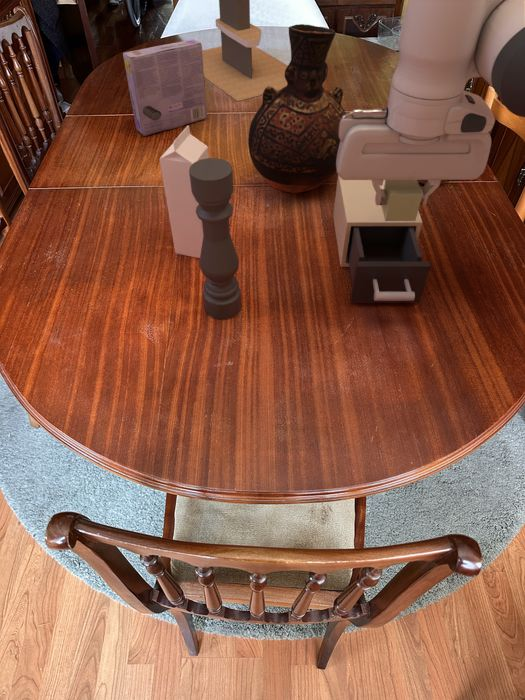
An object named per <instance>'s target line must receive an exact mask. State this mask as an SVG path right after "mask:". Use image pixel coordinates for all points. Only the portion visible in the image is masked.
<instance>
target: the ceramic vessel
mask: <svg viewBox="0 0 525 700" xmlns="http://www.w3.org/2000/svg"><path fill="white" fill-rule="evenodd" d="M335 36H336V31H335V30H334V29H333V28H327V27H324V26H316V25H311V24H304V23H303V24H302V23H300V24H294V25H290V26H289V27H288V38H289V44H290V61H289V63H288V64H287V65H288V66H287V68H286V70H285V79H286V81H287V86H286V87H284V88H282V89H281V90H278V91H277V90H275V89H274V88H273V87H271V86H267V87H266V88H265V89H264V92H263V95H262V101H261V102H262V103H261V106H260V107H259V108H258V109H257V111H256V112H255V114H254V116H253V118H252V119H251V121H250V125H249V130H248V138H247V139H248V141H247V142H248V152H249V156H250V159H251V161H252V164H253V166H254V168H255V170H256V171H257V172H258V174H259V175H260V176H261V177H262V179H263V180H265V182H266V183H268V184H269V185H271V186H272V187H274V188H275V189H278V190H280V191H283V192H286V193H293V194H297V193H305V192H309V191H312V190H315V189H316V188H318V187H319V186H321V185H322V184H325V182H327V181H328V180H329V179H331V178H332V177H333V176H334V175H335V174H336V173H337V169H336V158H337V153H338V148H339V144H340V139H339V137H338V129H339V122H340V120H341V118H342V117H343V116H344V115H345V114H347V113H346V111H345V109H344V108H343V106H342V101H343V96H344V89H343V88H342V87H339V86H335V87H333V88H330V89H326V88H324V87H323V84H324V83H325V81H326V79H327V77H328V72H329V71H328V70H329V66H328V63H327V62H326V60H327V58H328V54H329V50H330V48H331V46H332V43H333V41H334V39H335Z"/></svg>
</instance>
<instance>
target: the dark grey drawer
mask: <svg viewBox="0 0 525 700" xmlns="http://www.w3.org/2000/svg"><path fill="white" fill-rule="evenodd" d="M347 255H348V261H349V267H348V268H349V273H350V279H351V290H350V295H349V299H350V303H355V304H356V303H359V304H361V303H363V304H364V303H367V304H368V303H371V304H372V303H373V304H374V303H379V304H380V303H381V304H382V303H385V304H387V303H388V304H389V303H392V304H393V303H395V304H396V303H399V304H401V303H402V304H403V303H404V304H405V303H406V304H408V303H409V304H410V303H411V304H412V303H420V302H421V298H422V296H423V295H422V294H423V291H424V289H425V286H426V282H427V279H428V276H429V273H430V270H431V264H430V263H431V262H430V261H428V260H427V261H426V260H425V261H423V254H422V251H421V247H420V244H419V240H418V241H417V238H416V235H415V231H414V228H413V226H351V231H350V237H349V244H348V250H347Z"/></svg>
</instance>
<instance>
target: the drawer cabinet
mask: <svg viewBox="0 0 525 700" xmlns="http://www.w3.org/2000/svg"><path fill="white" fill-rule="evenodd" d="M336 180H337V181H336V190H335V199H334V205H333V206H334V207H333V214H332V216H333V217H332V218H333V225H334V231H335V238H336V245H337V252H338V257H339V259H338V260H339V265H340V268H350V267H349V261H348V255H347V250H348V244H349V237H350V231H351V226H413V228H414V231H415V235H416V238H417V241H418V242H419V236H420V233H421V230H422V226H423V220H422V217H421V214H420V210H418V213H417V217H416V221H385V218H384V214H383V210H382V206H381V205H376V203H375V195H376V191H375V189H374V187H373V184H372V181H371V180H343V179H341V177H340V176H339V175H338V174H337V179H336ZM384 185H385V180H384V181H383V185H382V186H380V188H381V189H384Z"/></svg>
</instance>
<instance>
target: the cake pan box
mask: <svg viewBox="0 0 525 700" xmlns="http://www.w3.org/2000/svg"><path fill="white" fill-rule="evenodd" d="M202 50H203V44H202V42H200V41H198V40H196V39H193V38H192V39H187V40H181V41H177V42H172V43H167V44H166V43H165V44H162V45H156V46H155V45H154V46H151V47H144V48H141V49H136V50H131V51H125V52H123V53H122V57H123V62H124V68H125V73H126V79H127V84H128V85H127V86H128V90H129V96H130V102H131V107H132V111H133V117H134V123H135V128H136V130H137V131H138V132H139V133H140V134H141V135H142V136H143V137H147V136H150V135H154V134H156V133H161V132H165V131H168V130H169V131H170V130H174V129H178V128H180V127H183V126H186V125H189V124H192V123H196V122H199V121H204V120H207V119H208V106H207V98H206V81H205V79H206V78H205V77H204V71H203V55H202Z"/></svg>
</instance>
